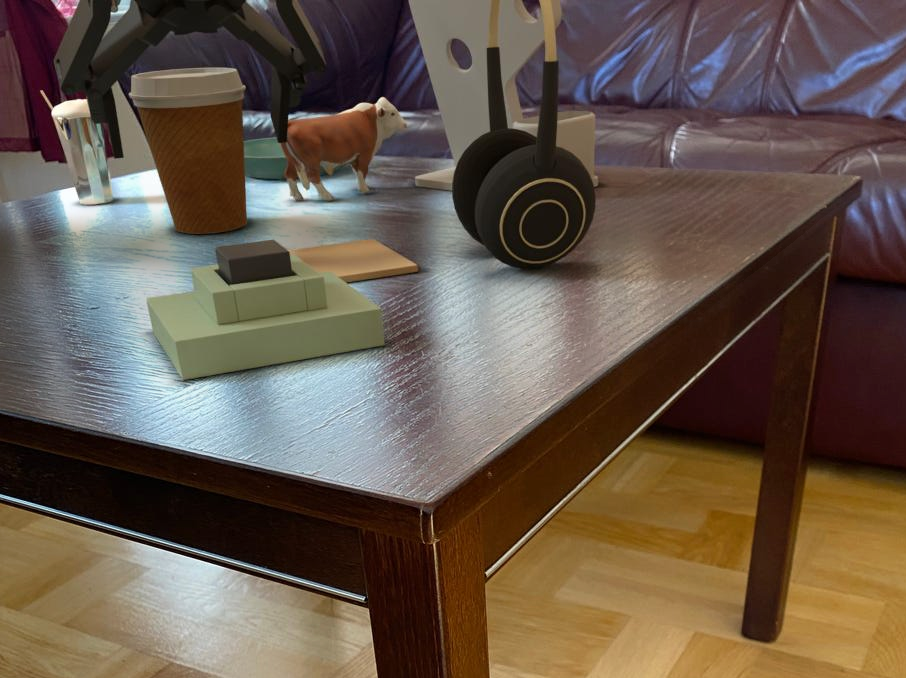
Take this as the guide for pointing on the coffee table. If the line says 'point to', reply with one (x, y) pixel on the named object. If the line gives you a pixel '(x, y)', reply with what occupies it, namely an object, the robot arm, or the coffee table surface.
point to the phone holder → (466, 91)
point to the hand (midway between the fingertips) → (198, 136)
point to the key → (253, 262)
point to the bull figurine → (337, 144)
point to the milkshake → (83, 150)
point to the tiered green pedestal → (262, 321)
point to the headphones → (523, 173)
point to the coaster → (356, 260)
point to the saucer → (268, 159)
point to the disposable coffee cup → (196, 144)
